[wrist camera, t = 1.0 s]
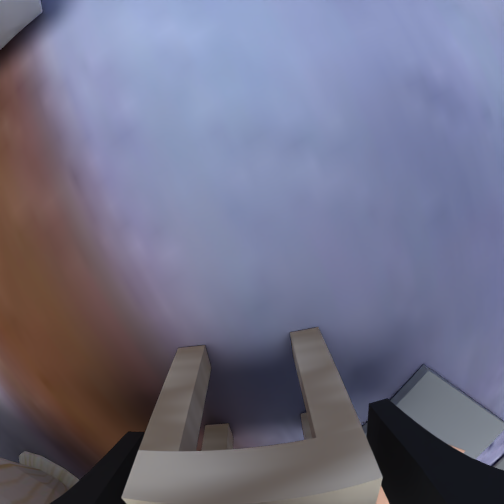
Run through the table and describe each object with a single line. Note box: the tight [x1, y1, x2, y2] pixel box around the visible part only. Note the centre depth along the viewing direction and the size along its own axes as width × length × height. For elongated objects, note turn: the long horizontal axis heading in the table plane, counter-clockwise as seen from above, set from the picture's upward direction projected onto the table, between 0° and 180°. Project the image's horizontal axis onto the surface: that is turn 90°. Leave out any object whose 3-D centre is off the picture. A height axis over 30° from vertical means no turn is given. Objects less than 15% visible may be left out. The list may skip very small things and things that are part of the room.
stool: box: [121, 327, 383, 504], centre depth 8 cm, size 5×5×6 cm
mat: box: [362, 364, 504, 504], centre depth 12 cm, size 12×12×1 cm
